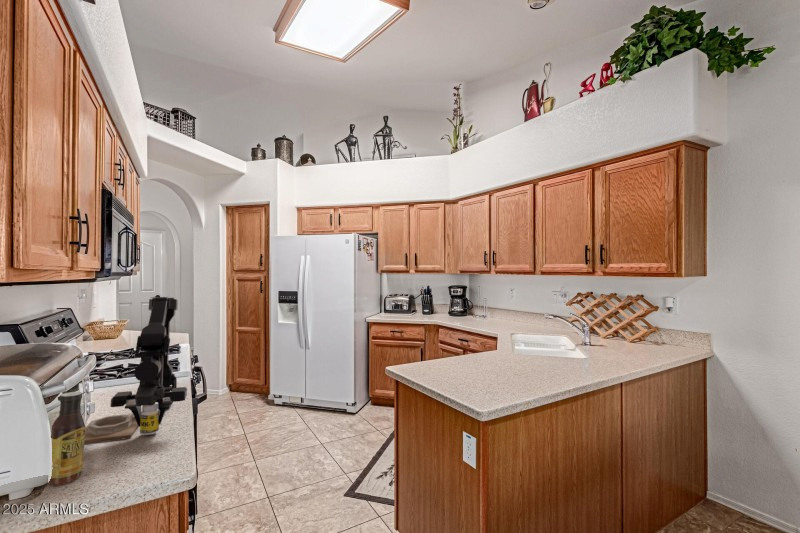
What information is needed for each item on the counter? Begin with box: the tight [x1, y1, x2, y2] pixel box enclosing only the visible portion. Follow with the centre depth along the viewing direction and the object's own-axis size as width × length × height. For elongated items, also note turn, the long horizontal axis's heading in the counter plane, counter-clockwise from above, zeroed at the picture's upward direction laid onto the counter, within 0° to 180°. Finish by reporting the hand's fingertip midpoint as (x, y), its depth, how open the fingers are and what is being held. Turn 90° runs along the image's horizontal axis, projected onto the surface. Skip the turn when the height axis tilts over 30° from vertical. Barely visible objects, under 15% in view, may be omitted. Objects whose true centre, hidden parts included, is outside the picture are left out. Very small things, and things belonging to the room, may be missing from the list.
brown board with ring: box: [84, 414, 139, 445], centre depth 116 cm, size 16×14×3 cm
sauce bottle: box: [47, 391, 86, 486], centre depth 89 cm, size 7×6×20 cm
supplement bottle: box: [139, 402, 160, 436], centre depth 114 cm, size 5×5×8 cm
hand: (149, 425), depth 114 cm, fingers closed on supplement bottle, 5 cm apart
